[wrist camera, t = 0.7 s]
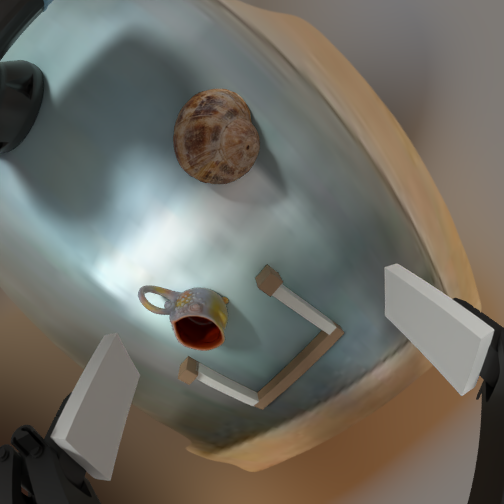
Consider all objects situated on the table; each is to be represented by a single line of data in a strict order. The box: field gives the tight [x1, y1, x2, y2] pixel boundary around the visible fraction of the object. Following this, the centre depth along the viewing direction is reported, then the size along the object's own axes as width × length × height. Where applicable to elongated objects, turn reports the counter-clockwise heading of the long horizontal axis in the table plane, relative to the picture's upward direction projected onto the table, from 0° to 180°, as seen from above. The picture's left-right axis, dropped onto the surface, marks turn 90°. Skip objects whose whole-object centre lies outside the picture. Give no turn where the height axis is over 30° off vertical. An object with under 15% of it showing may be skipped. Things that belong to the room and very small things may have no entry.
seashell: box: [173, 89, 260, 184], centre depth 29 cm, size 10×9×10 cm
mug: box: [138, 286, 229, 351], centre depth 33 cm, size 12×7×7 cm, turn 58°
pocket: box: [178, 265, 344, 409], centre depth 38 cm, size 16×21×3 cm
